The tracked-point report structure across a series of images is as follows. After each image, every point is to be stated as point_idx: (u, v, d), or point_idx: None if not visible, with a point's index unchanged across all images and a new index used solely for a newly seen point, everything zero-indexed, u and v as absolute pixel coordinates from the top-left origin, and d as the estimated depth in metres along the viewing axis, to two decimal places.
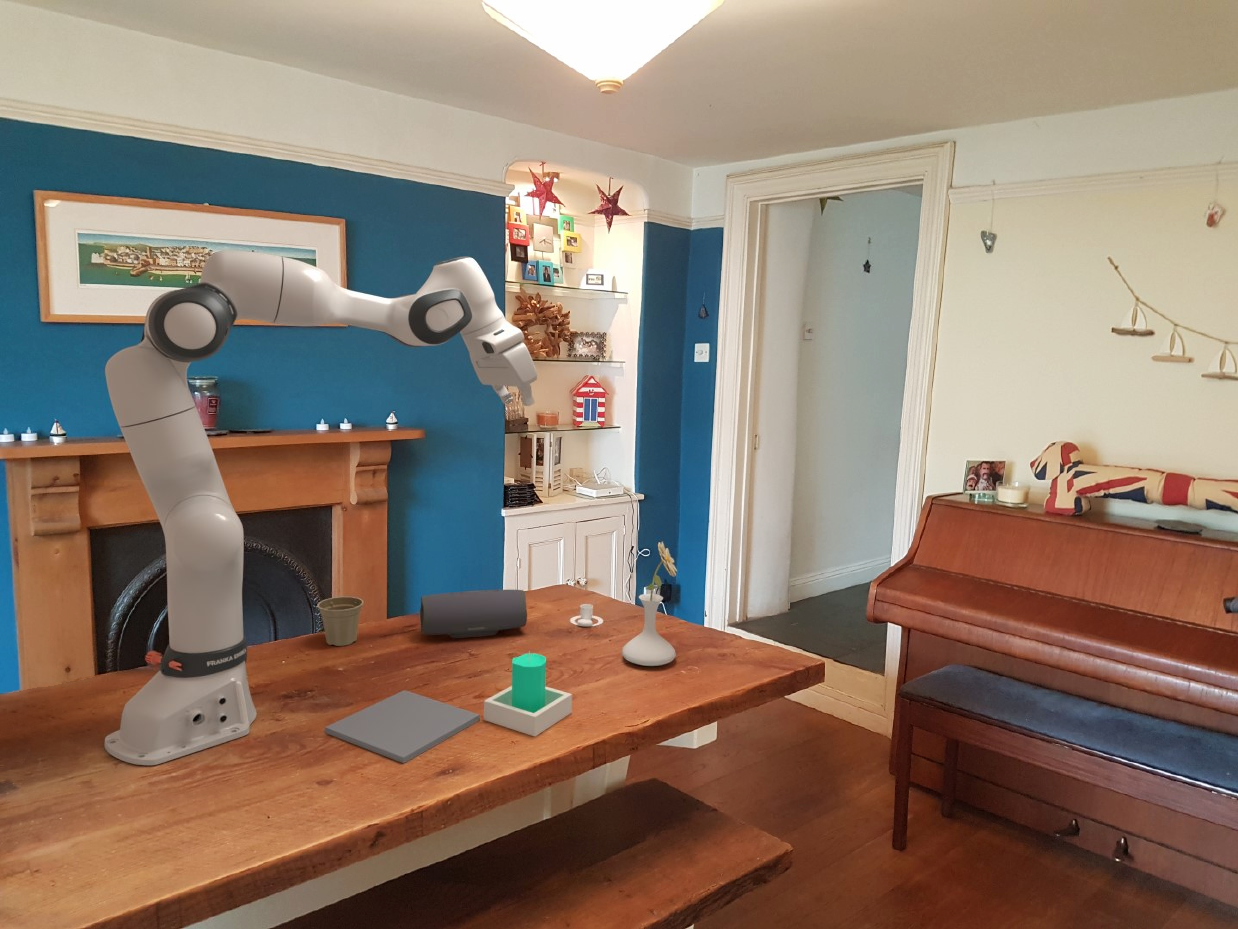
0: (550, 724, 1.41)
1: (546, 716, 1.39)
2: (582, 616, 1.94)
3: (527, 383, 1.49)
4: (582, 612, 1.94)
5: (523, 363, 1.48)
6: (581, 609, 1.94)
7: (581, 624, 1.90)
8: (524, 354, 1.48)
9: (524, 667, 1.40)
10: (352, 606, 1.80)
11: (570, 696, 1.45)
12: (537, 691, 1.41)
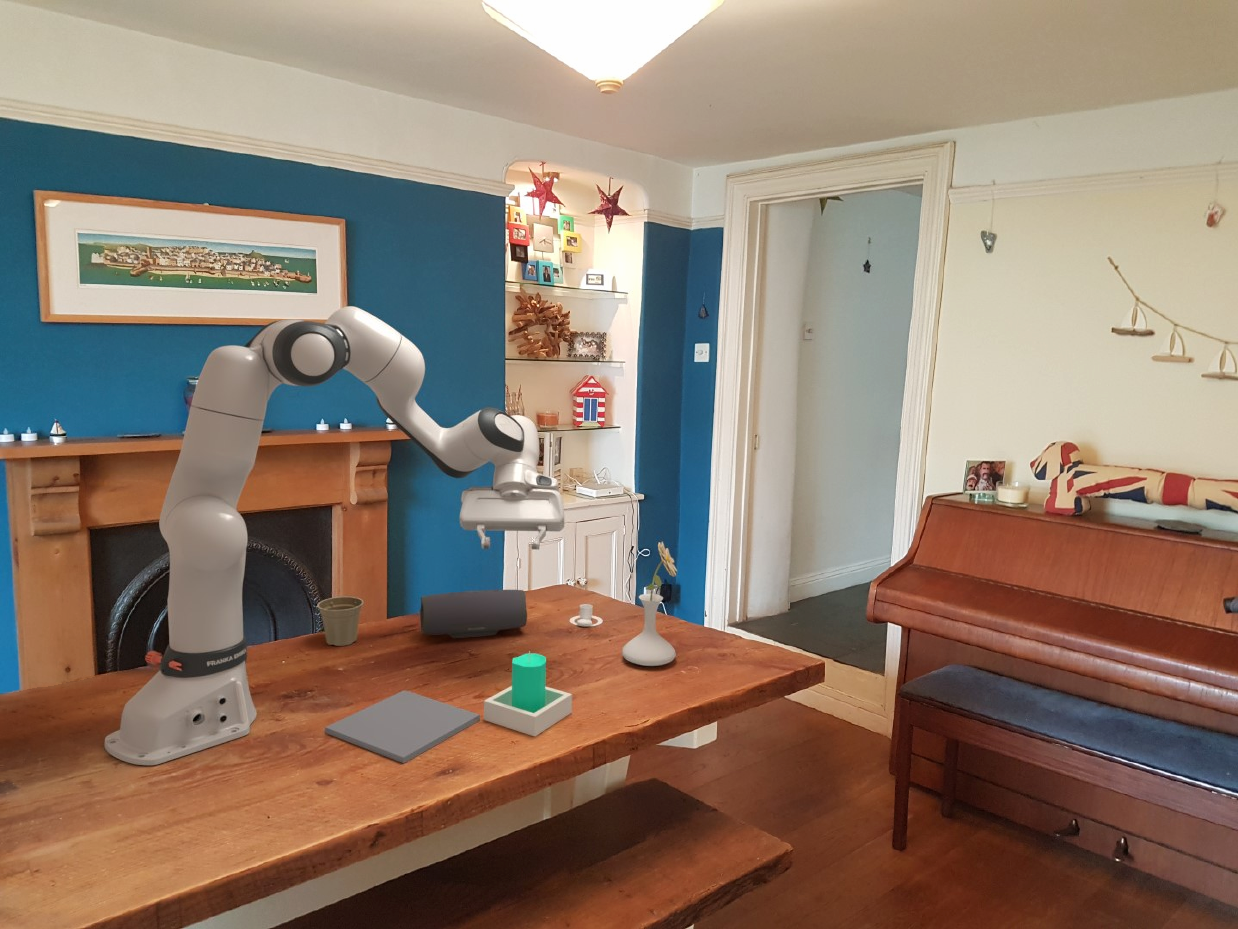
0: (550, 724, 1.41)
1: (546, 716, 1.39)
2: (582, 616, 1.94)
3: (562, 523, 1.58)
4: (582, 612, 1.94)
5: None
6: (581, 609, 1.94)
7: (581, 624, 1.90)
8: None
9: (524, 667, 1.40)
10: (352, 606, 1.80)
11: (570, 696, 1.45)
12: (537, 691, 1.41)
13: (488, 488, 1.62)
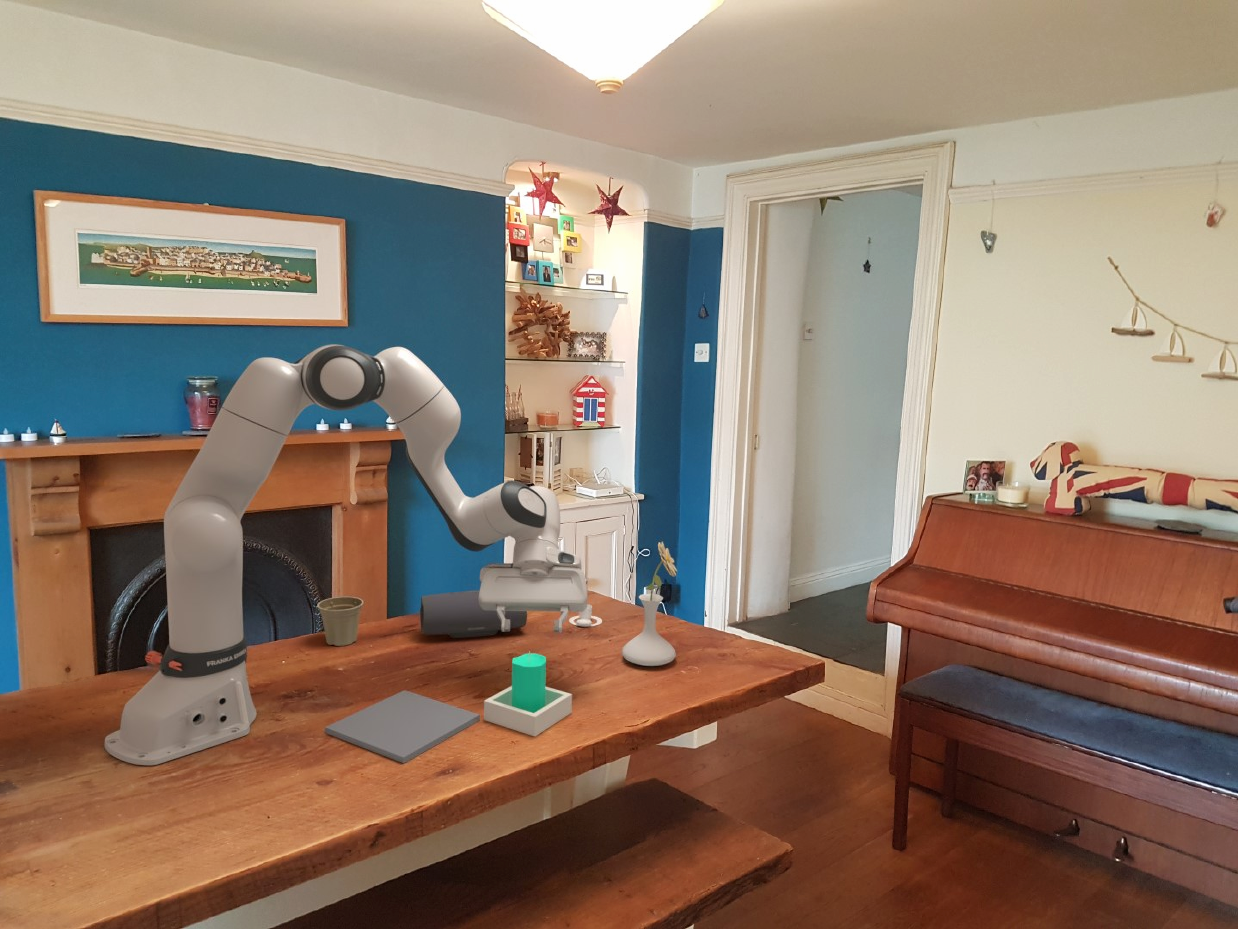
0: (550, 724, 1.41)
1: (546, 716, 1.39)
2: (581, 616, 1.94)
3: (585, 604, 1.51)
4: (581, 612, 1.94)
5: None
6: None
7: (580, 624, 1.90)
8: None
9: (524, 667, 1.40)
10: (352, 606, 1.80)
11: (570, 696, 1.45)
12: (537, 691, 1.41)
13: (508, 565, 1.56)
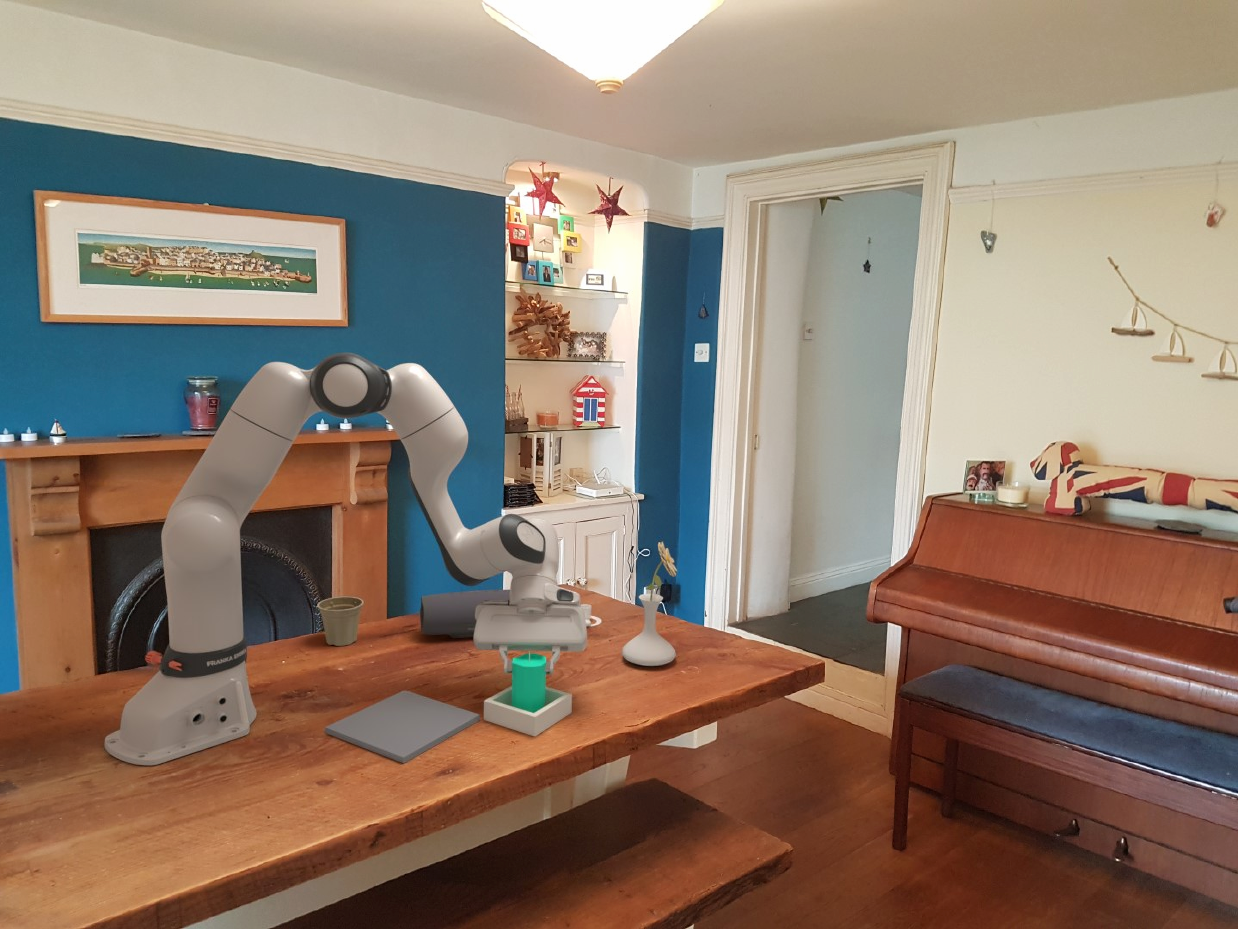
0: (550, 724, 1.41)
1: (546, 716, 1.39)
2: None
3: (585, 644, 1.45)
4: None
5: None
6: None
7: None
8: None
9: (524, 667, 1.40)
10: (352, 606, 1.80)
11: (570, 696, 1.45)
12: (537, 691, 1.41)
13: (504, 602, 1.50)
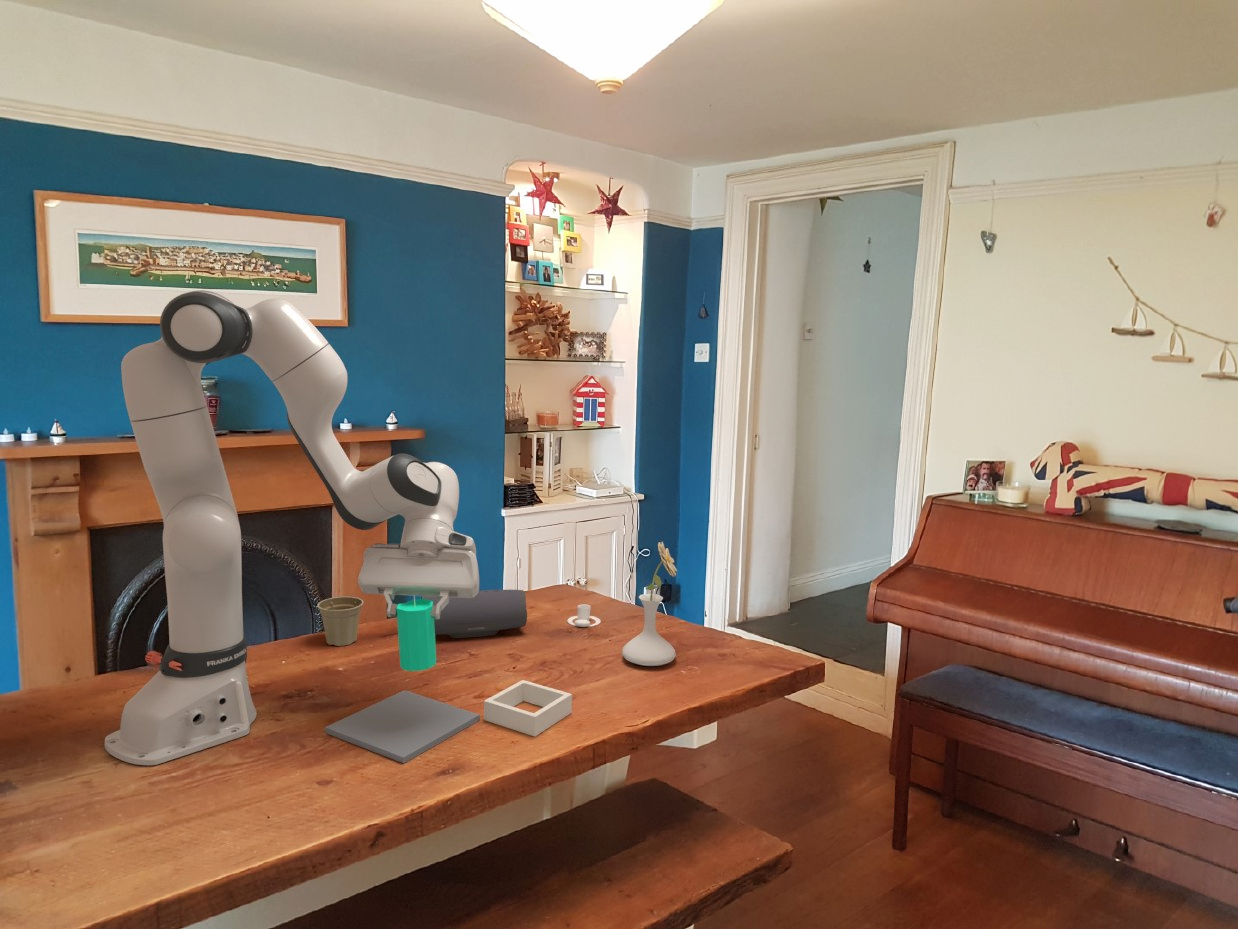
0: (550, 724, 1.41)
1: (546, 716, 1.39)
2: (579, 616, 1.94)
3: (475, 590, 1.39)
4: (580, 613, 1.94)
5: (478, 574, 1.42)
6: (578, 609, 1.94)
7: (578, 624, 1.90)
8: None
9: (407, 611, 1.34)
10: (352, 606, 1.80)
11: (570, 696, 1.45)
12: (424, 637, 1.35)
13: (395, 546, 1.43)
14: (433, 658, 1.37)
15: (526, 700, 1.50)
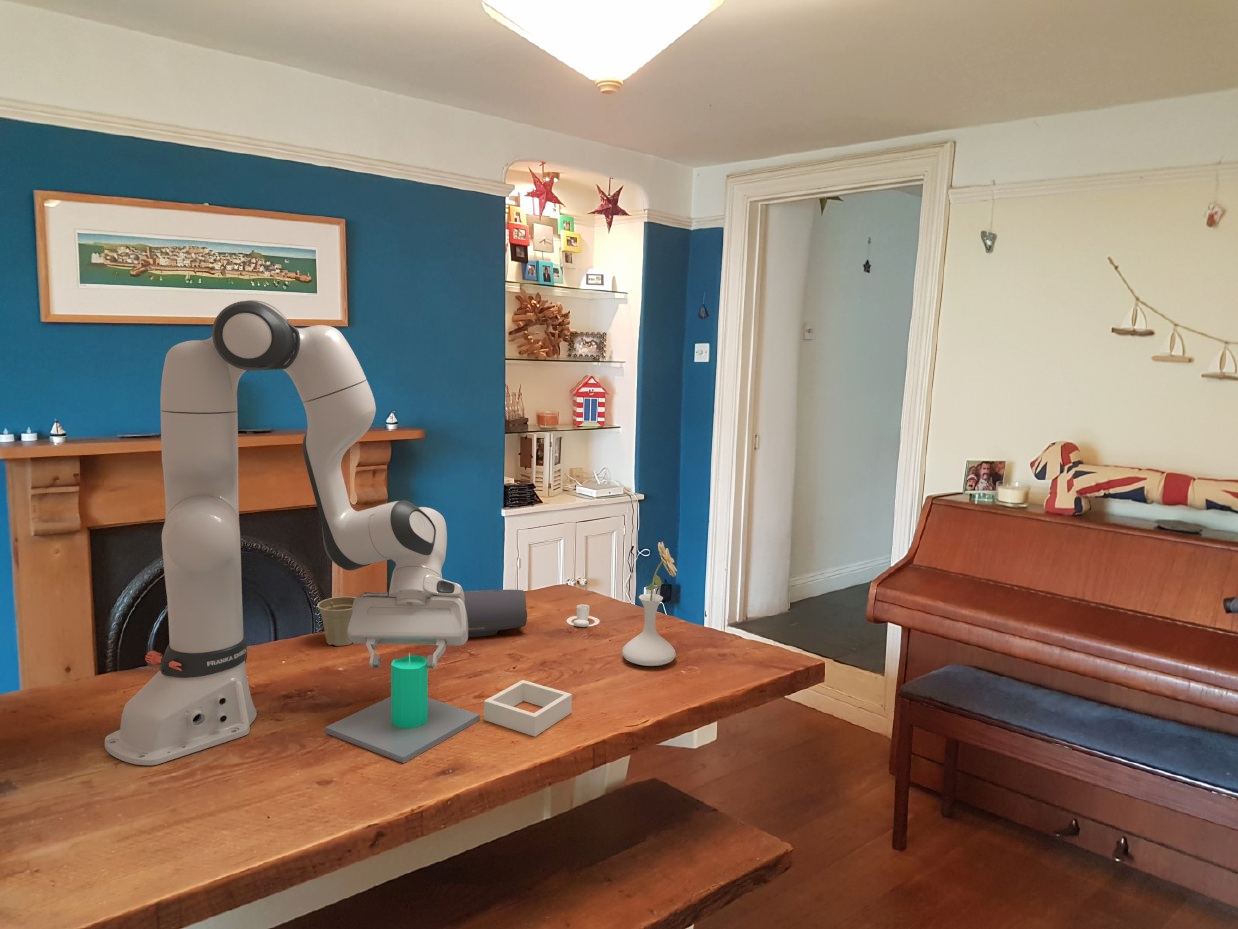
0: (550, 724, 1.41)
1: (546, 716, 1.39)
2: (578, 616, 1.94)
3: (464, 638, 1.40)
4: (579, 613, 1.94)
5: (467, 621, 1.43)
6: (577, 609, 1.94)
7: (577, 624, 1.90)
8: (467, 617, 1.44)
9: (401, 669, 1.35)
10: None
11: (570, 696, 1.45)
12: (416, 695, 1.36)
13: (384, 594, 1.44)
14: (424, 716, 1.38)
15: (526, 700, 1.50)
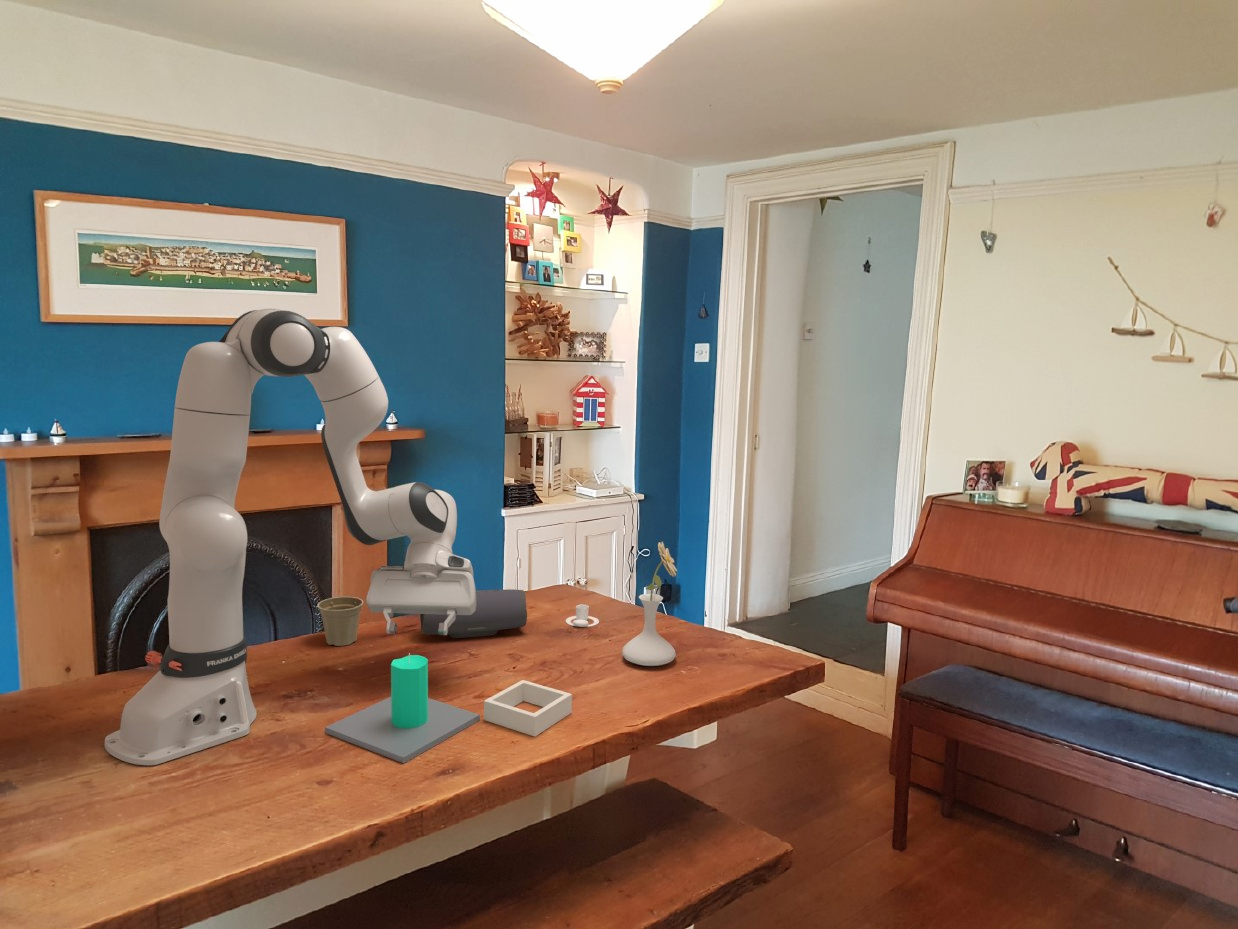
0: (550, 724, 1.41)
1: (546, 716, 1.39)
2: (578, 616, 1.94)
3: (472, 607, 1.53)
4: (578, 613, 1.94)
5: (475, 593, 1.56)
6: (577, 609, 1.94)
7: (577, 624, 1.90)
8: (475, 589, 1.57)
9: (401, 669, 1.35)
10: (352, 606, 1.80)
11: (570, 696, 1.45)
12: (416, 695, 1.36)
13: (399, 568, 1.57)
14: (424, 716, 1.38)
15: (526, 700, 1.50)
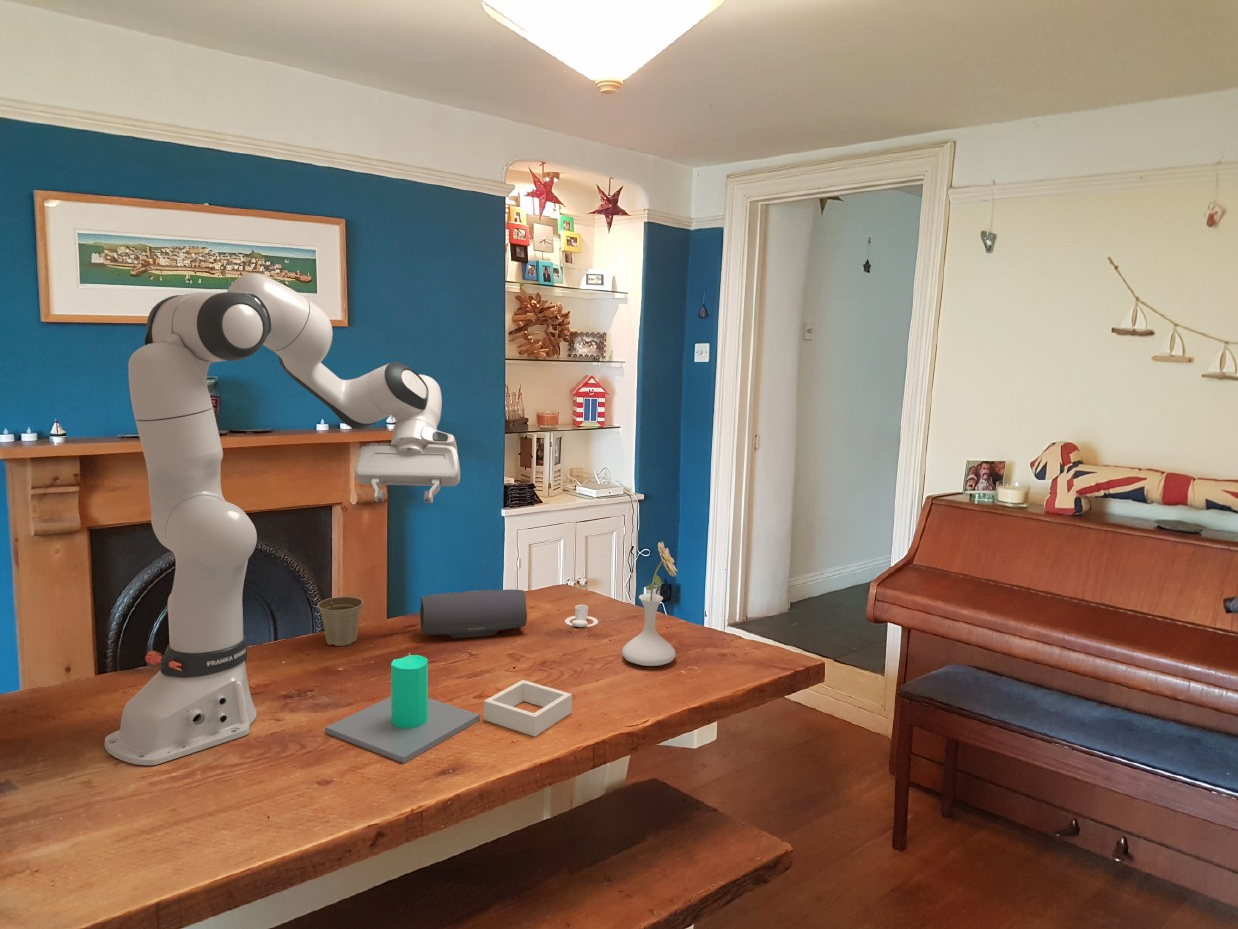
0: (550, 724, 1.41)
1: (546, 716, 1.39)
2: (577, 617, 1.94)
3: (456, 478, 1.61)
4: (577, 613, 1.93)
5: (459, 466, 1.64)
6: (576, 610, 1.93)
7: (576, 625, 1.90)
8: (459, 464, 1.65)
9: (401, 669, 1.35)
10: (352, 606, 1.80)
11: (570, 696, 1.45)
12: (416, 695, 1.36)
13: (386, 444, 1.65)
14: (424, 716, 1.38)
15: (526, 700, 1.50)
